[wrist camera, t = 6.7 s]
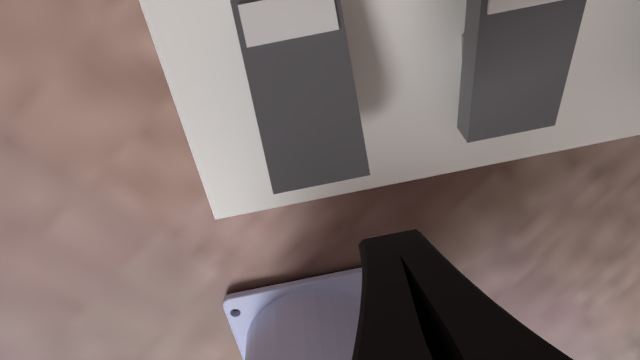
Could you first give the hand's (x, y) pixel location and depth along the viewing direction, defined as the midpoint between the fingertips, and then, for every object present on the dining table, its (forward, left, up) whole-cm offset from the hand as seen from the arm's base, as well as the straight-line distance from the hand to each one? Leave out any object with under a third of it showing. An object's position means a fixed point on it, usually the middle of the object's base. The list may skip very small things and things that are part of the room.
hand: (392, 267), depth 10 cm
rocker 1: (+3, +1, -6) cm, 7 cm away
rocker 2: (+3, -6, -6) cm, 9 cm away
